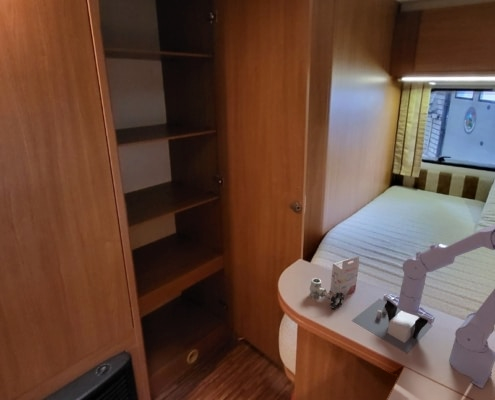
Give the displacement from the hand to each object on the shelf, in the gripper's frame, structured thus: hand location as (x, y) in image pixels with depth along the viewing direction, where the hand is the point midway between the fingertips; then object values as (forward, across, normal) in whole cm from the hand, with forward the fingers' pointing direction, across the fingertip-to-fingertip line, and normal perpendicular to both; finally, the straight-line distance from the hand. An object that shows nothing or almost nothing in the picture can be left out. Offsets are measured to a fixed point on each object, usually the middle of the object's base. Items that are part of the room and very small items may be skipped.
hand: (402, 329), depth 101 cm
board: (+1, +4, -1) cm, 4 cm away
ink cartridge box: (+2, +25, -5) cm, 26 cm away
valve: (+2, +26, +6) cm, 26 cm away
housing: (0, 0, 0) cm, 0 cm away
